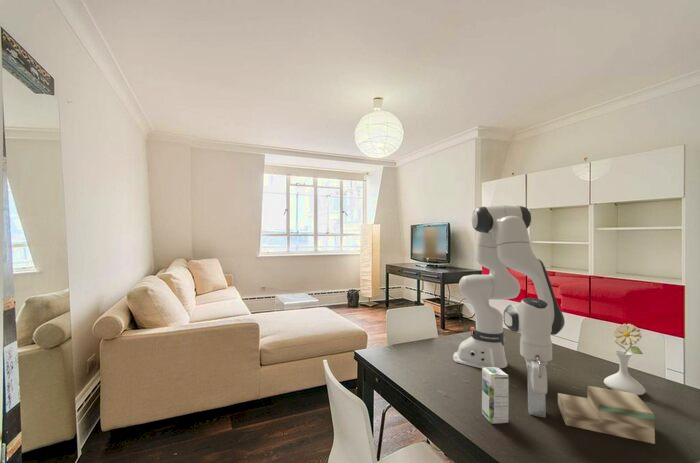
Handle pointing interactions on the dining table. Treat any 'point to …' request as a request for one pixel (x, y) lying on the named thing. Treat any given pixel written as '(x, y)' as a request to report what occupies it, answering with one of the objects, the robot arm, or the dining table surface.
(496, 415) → the syrup box
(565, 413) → the step stand
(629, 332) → the flower in vase
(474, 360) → the robot arm
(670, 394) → the dining table surface
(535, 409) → the grey column
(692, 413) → the dining table surface
